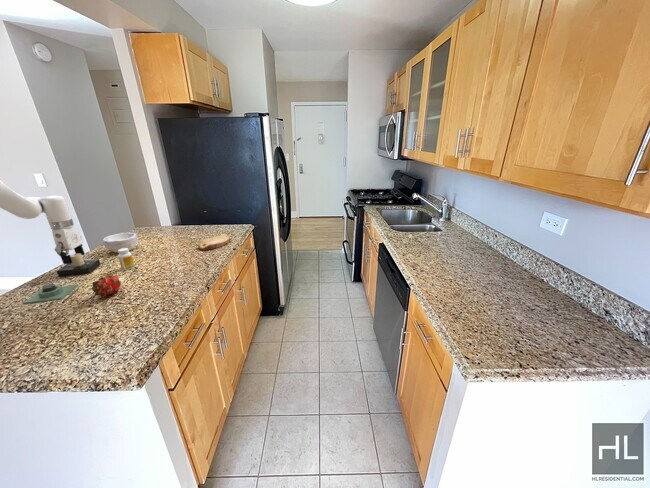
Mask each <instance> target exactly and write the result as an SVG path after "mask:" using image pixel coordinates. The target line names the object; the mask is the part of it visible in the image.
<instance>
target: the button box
mask: <svg viewBox="0 0 650 488" xmlns="http://www.w3.org/2000/svg"><path fill="white" fill-rule="evenodd" d="M55 286H56V289H55V290H53V291H49V292H43V290H42V288H41V289H40V290H38V291H37V292H36V293H34V294H32V295H31V296H30V297H29V298H27V299H26V300H24V301H23V302H22V304H23V305H27V304H28V305H29V304H35V303H43V302H51V301H58V300H59V301H61V300H63V301H62V302H61V303H62V304H63V303H66V302H67V301H68V300H69V299H70V298H72V296H73V295H74V294H76V293H77V292H78V291H79V290H80V287H78V286H79V285H78V284H71V285H65V286H63V285H60V284H55ZM69 294H70V295H69ZM68 295H69V296H68Z"/></svg>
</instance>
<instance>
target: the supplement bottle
mask: <svg viewBox="0 0 650 488" xmlns="http://www.w3.org/2000/svg"><path fill="white" fill-rule="evenodd" d="M117 258H118V263H119V264H120V267H121V270H123V271H127V270H132V269H134V268H135V267H136V263H135V260H134V257H133V254H132V253H131V252H130V250H128V248H122V249H119V250H118V253H117Z"/></svg>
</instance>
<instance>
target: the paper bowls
mask: <svg viewBox="0 0 650 488" xmlns="http://www.w3.org/2000/svg"><path fill="white" fill-rule="evenodd" d="M102 242H103V245H104V248H105V249H106V250H110V251H111V252H113V253H117V254H119V253H118V250H119V249H122V248H128V250H129V251H131V250H133V249H134V248H135V246H136V245H138V243H139V240H138V236H137V234H136V233H134V232H120V233H115V234H110V235H108V236H105V237H104V238H103V239H102Z"/></svg>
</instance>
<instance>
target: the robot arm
mask: <svg viewBox="0 0 650 488" xmlns="http://www.w3.org/2000/svg"><path fill="white" fill-rule="evenodd" d="M0 209H2V210H4V211H6V212H8V213H10V214H11V215H14V216H15V217H17V218H21V219H25V220H33V219H36V218H38V217H39V216H40V215H41V214H43V213H44V214H45V217H46V220H47V222H48V225H49V227H50V230H51V233H52V238H53V241H54V244H55V247H54V251H55V253H56V254H57V255H58V257H60V259H61V261H62V264H63V265H66V264H70V263H73V262H72V259H71V257H70V255H71V254H69V253H70V251H74V254H76V253H80V254H81V255H82V256H84V255H85V250H84V248H83V239H82V236H81V235H80V232H79V229H78V228H77V227H76V225H75V224H74V220H73V218H72V215H71V212H70V209H69V207H68V203H67V201H66V198H65V197H64V196H63V195H46V196H23V195H22V194H20V193H18V192H16V191H14V190H13V189H12V188H11V187H9V186H7V185H6V184H5V183H4V182H3V181H2V180H1V179H0Z"/></svg>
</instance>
